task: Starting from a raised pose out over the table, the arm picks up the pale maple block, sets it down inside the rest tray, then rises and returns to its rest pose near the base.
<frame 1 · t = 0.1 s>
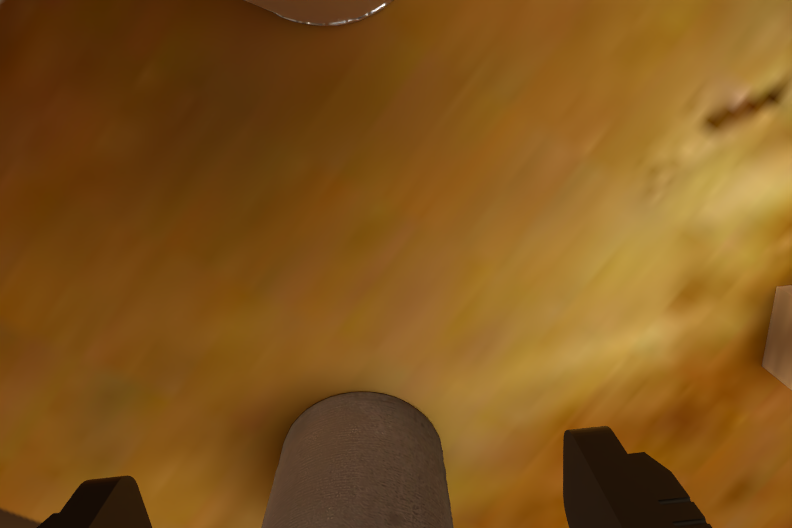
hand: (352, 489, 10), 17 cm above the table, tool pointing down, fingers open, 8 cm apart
pillar candle: (360, 454, 32), on the table
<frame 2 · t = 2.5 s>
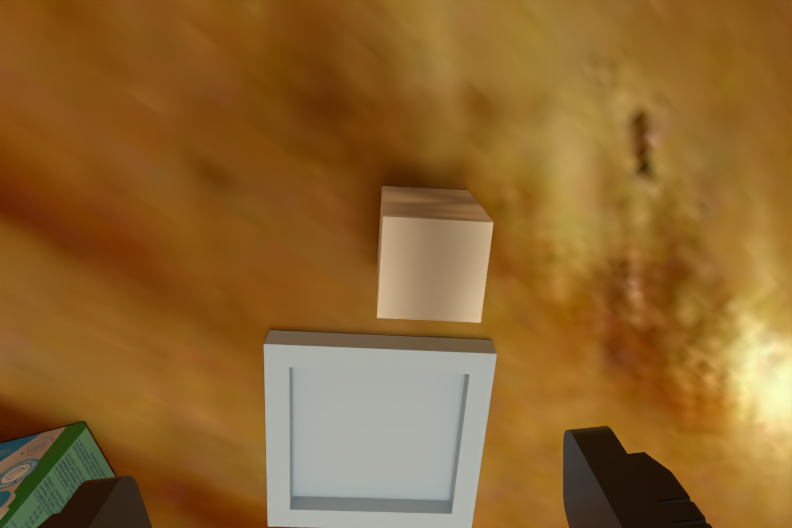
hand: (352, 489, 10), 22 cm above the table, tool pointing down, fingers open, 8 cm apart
milk carton: (56, 486, 37), on the table
rest tray: (375, 427, 35), on the table
maple block: (421, 229, 31), on the table
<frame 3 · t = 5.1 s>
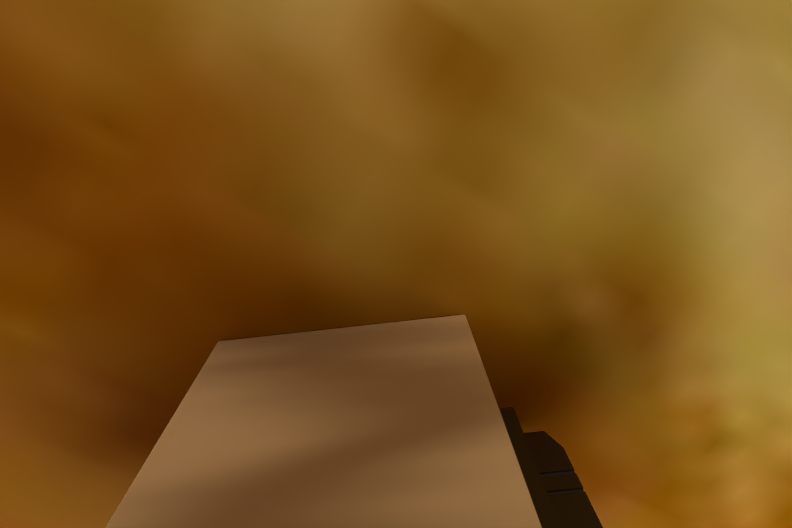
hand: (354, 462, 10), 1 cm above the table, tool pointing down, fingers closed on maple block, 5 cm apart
maple block: (357, 430, 11), on the table, touching gripper
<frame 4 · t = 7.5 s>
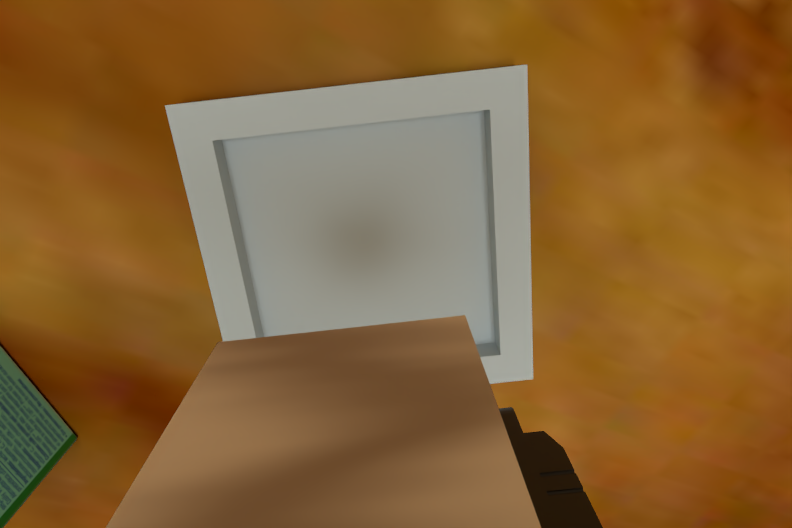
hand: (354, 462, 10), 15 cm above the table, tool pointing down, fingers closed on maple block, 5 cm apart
rest tray: (368, 243, 24), on the table
maple block: (357, 431, 11), point 14 cm above the table, touching gripper
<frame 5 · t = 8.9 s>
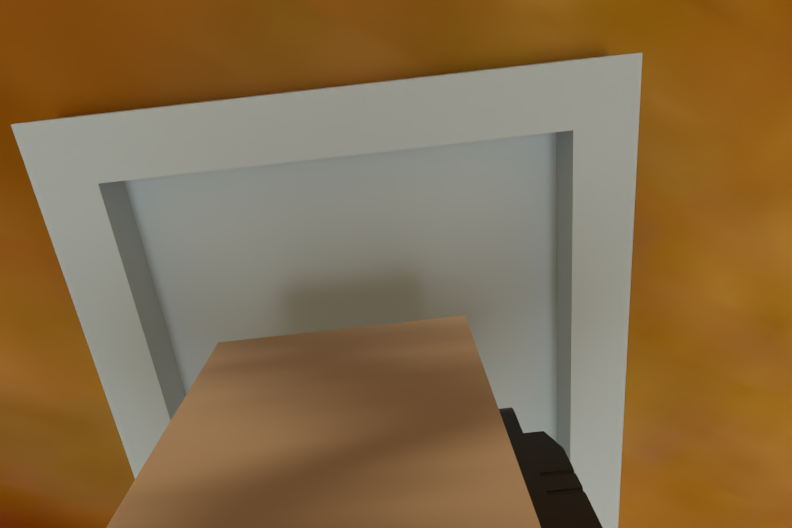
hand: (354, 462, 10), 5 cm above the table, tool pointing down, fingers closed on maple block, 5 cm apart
rest tray: (366, 333, 16), on the table
maple block: (357, 431, 11), point 5 cm above the table, touching gripper
when the fingers open (3 cm above the table, at t = 10.0 s): maple block stays where it is, resting on rest tray.
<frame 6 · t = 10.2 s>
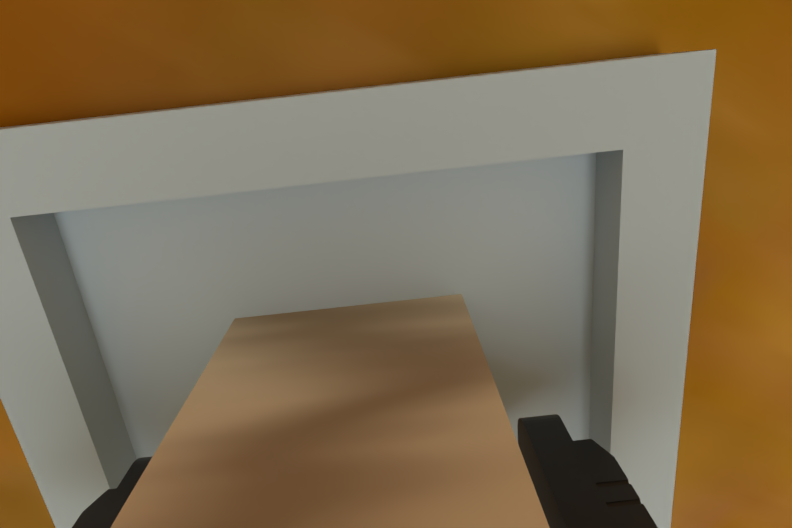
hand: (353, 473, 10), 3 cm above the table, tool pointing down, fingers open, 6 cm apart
rest tray: (358, 389, 13), on the table
maple block: (362, 402, 12), point 1 cm above the table, touching rest tray
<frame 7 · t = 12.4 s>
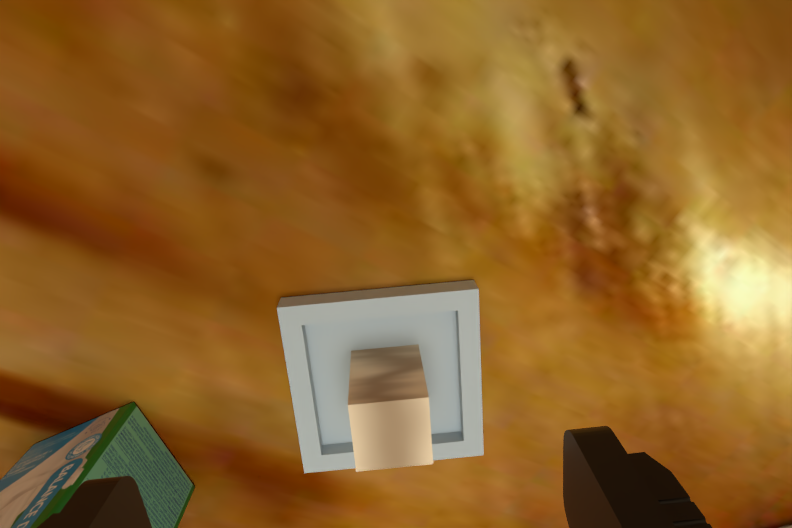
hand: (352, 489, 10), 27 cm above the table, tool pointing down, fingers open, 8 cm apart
milk carton: (117, 464, 42), on the table
rest tray: (385, 373, 40), on the table
maple block: (387, 376, 40), point 1 cm above the table, touching rest tray
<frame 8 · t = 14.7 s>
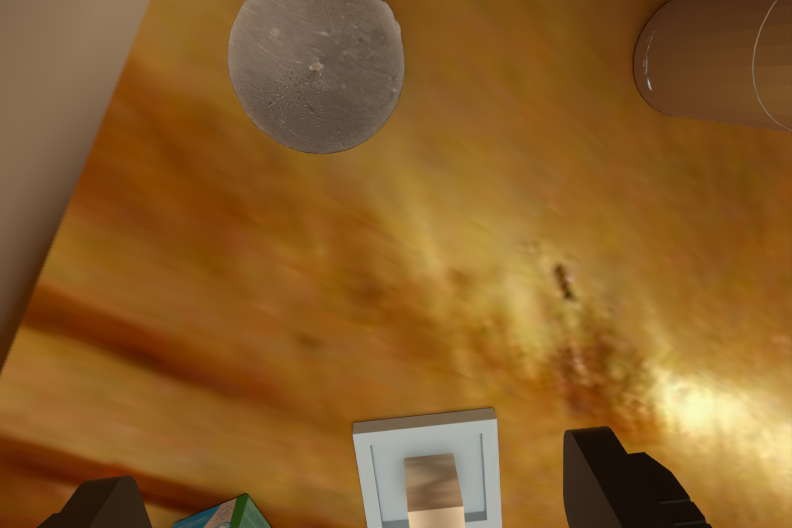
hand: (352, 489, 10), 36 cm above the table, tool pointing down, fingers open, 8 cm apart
rest tray: (429, 471, 55), on the table
maple block: (430, 475, 54), point 1 cm above the table, touching rest tray
pillar candle: (335, 68, 41), on the table
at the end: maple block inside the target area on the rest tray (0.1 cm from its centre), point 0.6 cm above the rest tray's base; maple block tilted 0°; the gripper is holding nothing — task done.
